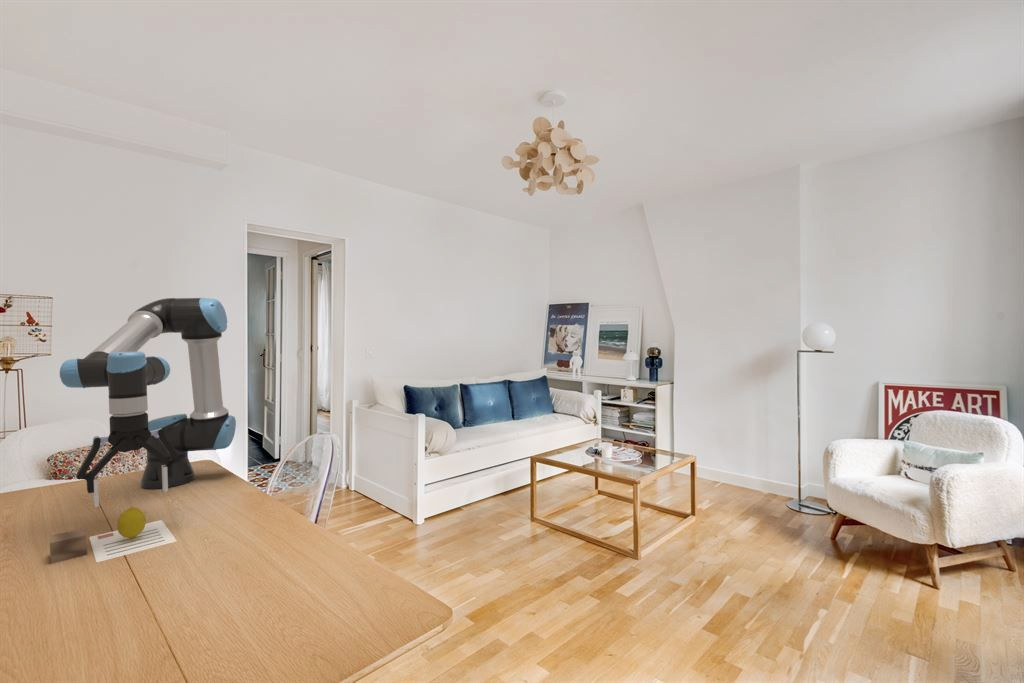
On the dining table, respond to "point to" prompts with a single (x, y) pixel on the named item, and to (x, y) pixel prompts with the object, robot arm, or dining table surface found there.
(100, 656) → the dining table surface
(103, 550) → the letter
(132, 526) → the lemon
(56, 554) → the walnut block
